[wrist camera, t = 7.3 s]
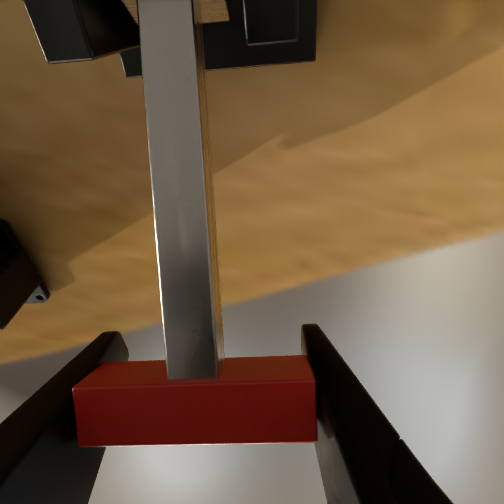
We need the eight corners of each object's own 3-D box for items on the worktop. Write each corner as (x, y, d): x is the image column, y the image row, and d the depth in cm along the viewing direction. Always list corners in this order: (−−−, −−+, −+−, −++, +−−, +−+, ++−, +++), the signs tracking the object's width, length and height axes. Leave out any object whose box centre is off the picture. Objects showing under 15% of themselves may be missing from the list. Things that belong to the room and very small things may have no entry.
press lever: (307, 395, 8) (322, 463, 6) (118, 401, 9) (61, 467, 6) (283, -113, 7) (290, -272, 5) (72, -87, 8) (-16, -227, 5)
